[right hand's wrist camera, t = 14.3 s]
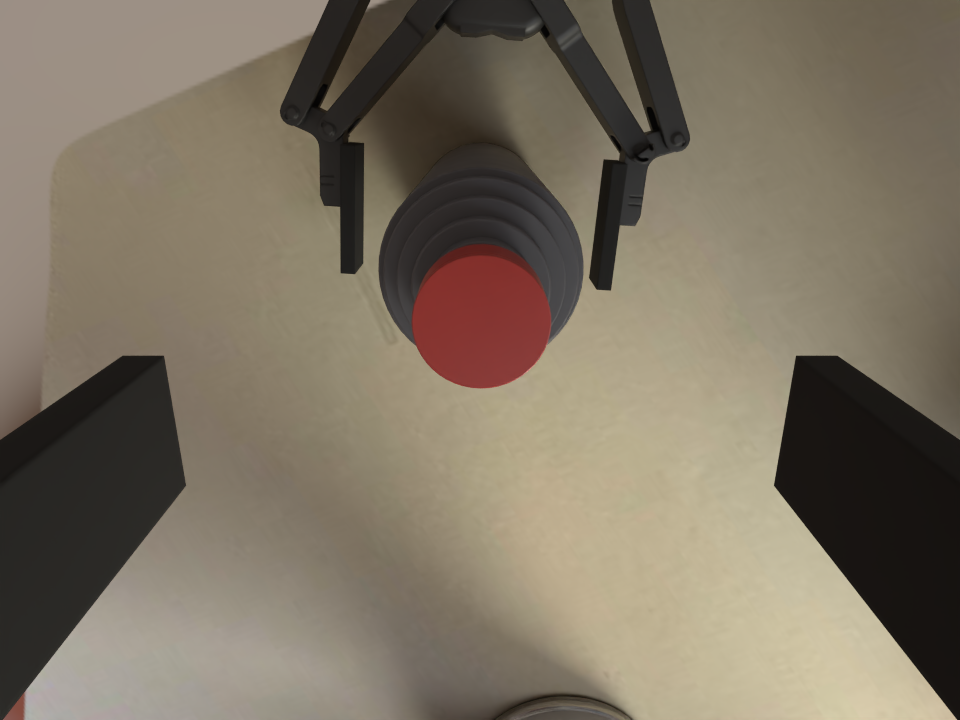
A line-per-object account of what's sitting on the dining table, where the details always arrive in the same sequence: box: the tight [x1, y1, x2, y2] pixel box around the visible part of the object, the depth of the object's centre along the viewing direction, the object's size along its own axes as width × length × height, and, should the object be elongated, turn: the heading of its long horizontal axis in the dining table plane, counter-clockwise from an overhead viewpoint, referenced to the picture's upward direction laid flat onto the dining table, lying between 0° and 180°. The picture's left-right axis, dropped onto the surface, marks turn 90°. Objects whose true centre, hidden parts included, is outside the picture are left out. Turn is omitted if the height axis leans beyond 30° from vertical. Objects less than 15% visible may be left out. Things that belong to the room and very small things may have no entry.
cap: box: [412, 244, 551, 388], centre depth 19 cm, size 4×4×2 cm
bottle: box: [379, 143, 583, 345], centre depth 31 cm, size 7×7×24 cm
